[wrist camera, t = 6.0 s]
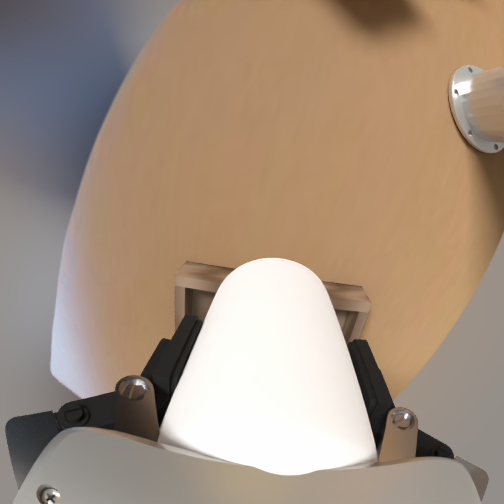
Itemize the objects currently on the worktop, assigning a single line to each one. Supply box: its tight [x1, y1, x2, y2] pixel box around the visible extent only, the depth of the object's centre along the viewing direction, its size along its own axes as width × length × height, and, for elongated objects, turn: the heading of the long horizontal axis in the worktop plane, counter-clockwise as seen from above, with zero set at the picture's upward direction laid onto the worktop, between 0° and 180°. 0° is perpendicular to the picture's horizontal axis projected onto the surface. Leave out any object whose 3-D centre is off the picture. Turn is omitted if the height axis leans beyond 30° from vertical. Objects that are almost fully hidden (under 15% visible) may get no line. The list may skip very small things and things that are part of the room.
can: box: [157, 258, 378, 475], centre depth 10 cm, size 6×6×12 cm
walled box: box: [175, 261, 372, 345], centre depth 34 cm, size 22×17×4 cm
